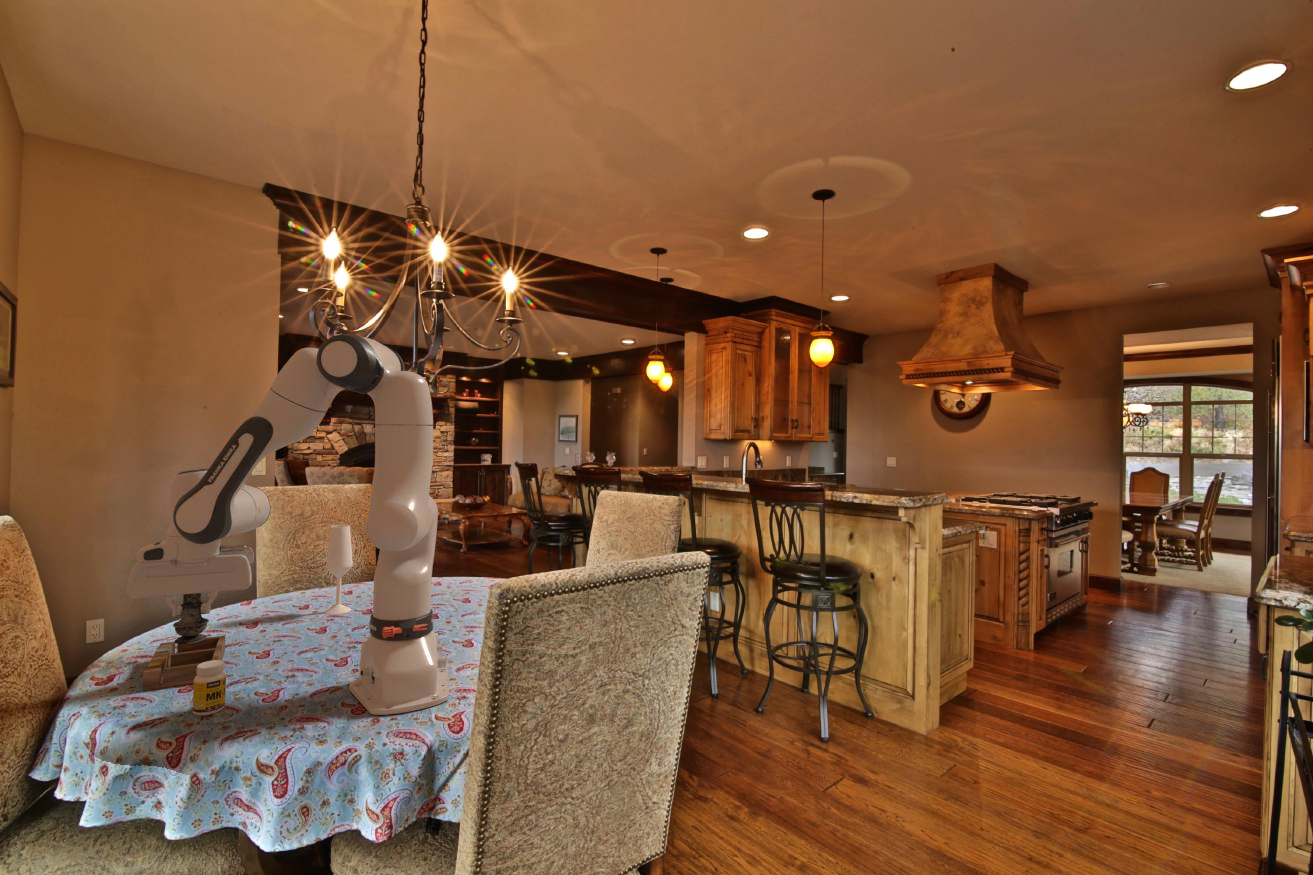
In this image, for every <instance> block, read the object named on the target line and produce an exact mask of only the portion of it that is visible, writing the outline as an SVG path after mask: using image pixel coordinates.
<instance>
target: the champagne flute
mask: <svg viewBox="0 0 1313 875" xmlns="http://www.w3.org/2000/svg"><path fill="white" fill-rule="evenodd" d="M352 548H353V547H352V534H351V525H350V524H335V525H331V527H330V533H329V540H328V547H327V556H326V561H325V562H326V563H325V567H326V569H327V570H328V572H329V573H331V575H333V576H334V577H336V593H335V595H336V596H335V604H334V605H333V606H331V607H329V608H328V609H326V610H325V611H324V613H325V614H326V615H342V614H346V613H349V612H351V611H352V608H350V607H348V606H346V605H343V604H341V603H342V602H341V601H342V577H343V576H345V575H346V574H347V573H348V572H349V571H350V570H351V569H352V567H353V563H354V562H353V549H352Z"/></svg>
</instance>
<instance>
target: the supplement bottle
mask: <svg viewBox="0 0 1313 875" xmlns="http://www.w3.org/2000/svg"><path fill="white" fill-rule="evenodd" d="M224 670H225V662H224V661H223V660H222V661H221V660H213V661H207V662H203V663H201V664H199V665H198V666H197V676H196V677H195V678H194V683H193V687H192V688H193V693H192V714H193V715H195V716H209V715H212V714H216V713H218V712H220V711H222V710H223V709H224V708H226V707H225V705H226V690H227V689H226V687H227V684H226V683H227V673H226V672H225V671H224Z"/></svg>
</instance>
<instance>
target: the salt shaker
mask: <svg viewBox="0 0 1313 875" xmlns="http://www.w3.org/2000/svg"><path fill="white" fill-rule="evenodd" d="M182 595H183V597H182V599H183V600H182V603H181V604H180V606H182V607H183V609H182V616H180V617H181V618H180V620H178V621H176V622H174V623H173V624H172V627H173V628H174V631H175V633H176V634H177V635H179V637H178V638H177V639H175V640H174V641H173V642H174V643H175V645H177V644H191V643H196V642H200V641H203V640H205V639H206V638H208V637H207V635H204V634H203V632H204V631H205V630H206V628H207V627H208V623H209V622H210V620H209V618H206V617H202V614H201V605H202V604H204V602H203V601H202V600H201V599H202V593H194V594H182Z"/></svg>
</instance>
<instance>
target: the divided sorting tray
mask: <svg viewBox="0 0 1313 875" xmlns="http://www.w3.org/2000/svg"><path fill="white" fill-rule="evenodd" d="M176 645H177V646H176ZM225 651H226V635H219V636H210V637H207V638H206V639H205V640H203V641H200V642H196V643H191V644H176V643H174V641H168V642H166V641H165V642H160V643H159V645H158V647H157V649H156V651H155V652H154V653H153V655H152V657H151V659H150V661H149V662H148V664H147V665H146V667H145V669H144V671H143V672H142V692H145V691H151V690H153V691H154V690H158V689H165V688H172V687H178V686H184V685H185V686H186V685H194V678H195V677H196V676H197V666H198V665H199V664H201V663H203V662H207V661H213V660H221V661H223V659H224V655H225Z"/></svg>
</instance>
